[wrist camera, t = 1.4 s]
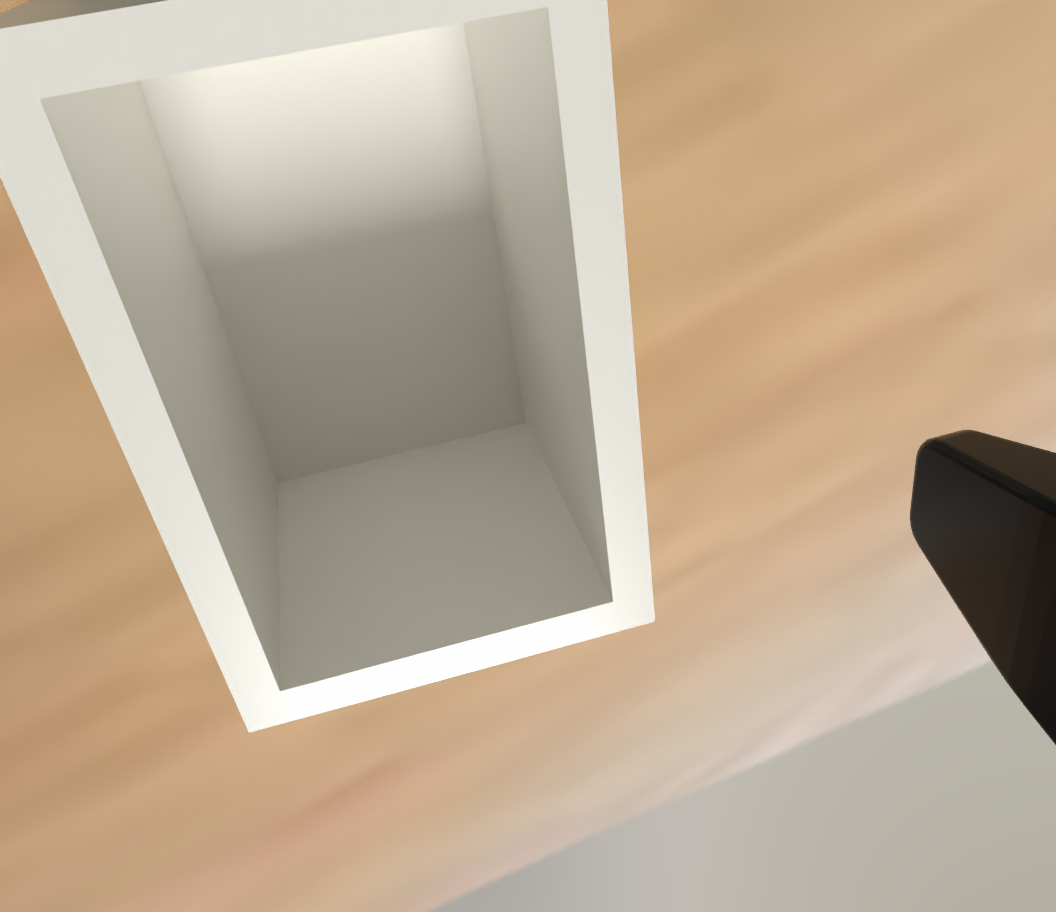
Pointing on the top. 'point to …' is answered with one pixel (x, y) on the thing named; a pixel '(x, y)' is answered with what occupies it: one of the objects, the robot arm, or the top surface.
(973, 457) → the robot arm
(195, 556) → the small crate
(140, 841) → the top surface
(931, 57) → the top surface
